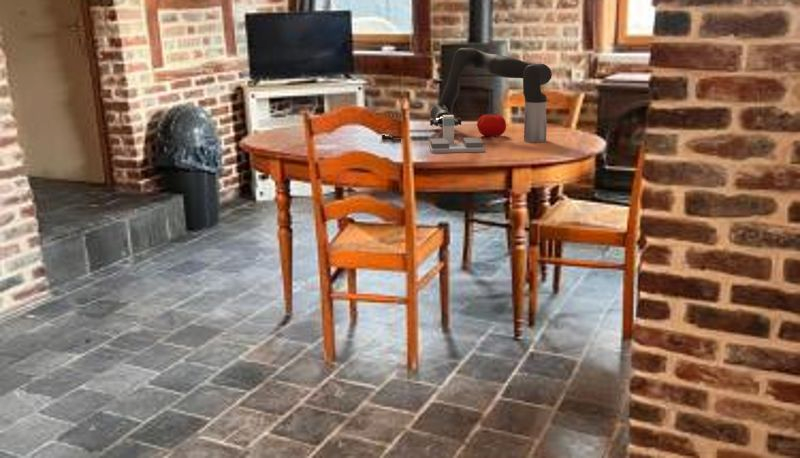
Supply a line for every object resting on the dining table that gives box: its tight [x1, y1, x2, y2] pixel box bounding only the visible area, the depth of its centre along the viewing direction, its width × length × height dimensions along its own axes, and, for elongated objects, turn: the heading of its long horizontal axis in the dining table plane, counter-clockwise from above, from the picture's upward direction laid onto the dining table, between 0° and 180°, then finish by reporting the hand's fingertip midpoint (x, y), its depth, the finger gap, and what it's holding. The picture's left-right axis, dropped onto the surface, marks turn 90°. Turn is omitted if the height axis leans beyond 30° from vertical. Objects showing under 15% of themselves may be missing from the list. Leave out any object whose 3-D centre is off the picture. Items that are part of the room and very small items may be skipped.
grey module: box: [442, 114, 455, 143], centre depth 340 cm, size 5×5×12 cm
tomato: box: [476, 112, 507, 137], centre depth 356 cm, size 13×12×11 cm
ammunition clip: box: [381, 112, 401, 141], centre depth 354 cm, size 11×2×12 cm, turn 88°
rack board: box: [428, 137, 486, 154], centre depth 327 cm, size 22×16×4 cm
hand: (446, 123), depth 350 cm, fingers open, 8 cm apart
